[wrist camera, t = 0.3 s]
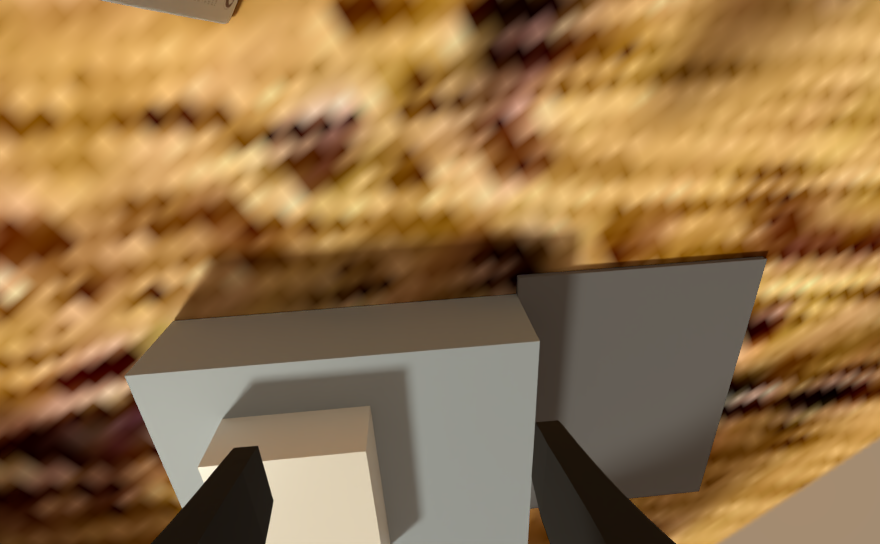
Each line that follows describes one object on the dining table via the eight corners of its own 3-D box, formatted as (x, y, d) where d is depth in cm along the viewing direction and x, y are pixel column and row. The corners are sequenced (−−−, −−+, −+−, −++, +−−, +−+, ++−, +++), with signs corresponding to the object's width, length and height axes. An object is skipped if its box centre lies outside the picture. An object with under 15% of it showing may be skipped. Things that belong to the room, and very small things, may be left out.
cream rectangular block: (390, 544, 22) (389, 596, 20) (268, 557, 22) (254, 612, 20) (370, 405, 18) (365, 451, 16) (222, 419, 18) (197, 467, 16)
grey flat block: (510, 495, 27) (526, 560, 24) (244, 522, 26) (219, 594, 23) (516, 294, 21) (539, 341, 18) (173, 320, 20) (124, 375, 17)
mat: (695, 487, 28) (698, 491, 28) (509, 506, 28) (510, 510, 27) (762, 256, 21) (767, 258, 21) (516, 275, 21) (518, 278, 21)
